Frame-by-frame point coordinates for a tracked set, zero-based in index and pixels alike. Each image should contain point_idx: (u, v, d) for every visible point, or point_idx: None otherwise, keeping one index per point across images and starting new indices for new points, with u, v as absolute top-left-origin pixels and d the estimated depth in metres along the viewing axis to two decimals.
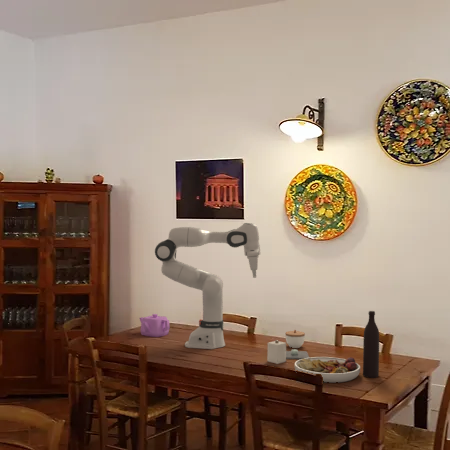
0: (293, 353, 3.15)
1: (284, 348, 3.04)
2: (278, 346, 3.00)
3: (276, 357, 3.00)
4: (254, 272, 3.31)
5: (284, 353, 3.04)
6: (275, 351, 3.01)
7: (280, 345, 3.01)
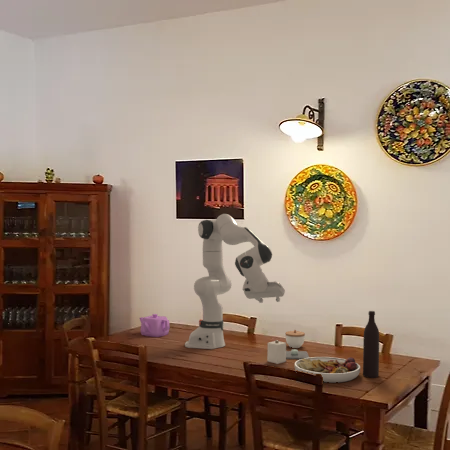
0: (293, 353, 3.15)
1: (284, 348, 3.04)
2: (278, 346, 3.00)
3: (276, 357, 3.00)
4: None
5: (284, 353, 3.04)
6: (275, 351, 3.01)
7: (280, 345, 3.01)
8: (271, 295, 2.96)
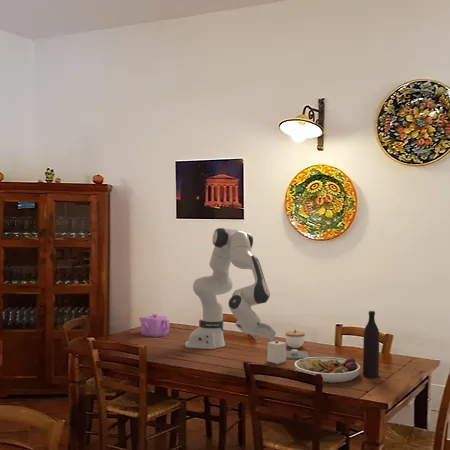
0: (293, 353, 3.15)
1: (284, 348, 3.04)
2: (278, 346, 3.00)
3: (276, 357, 3.00)
4: None
5: (284, 353, 3.04)
6: (275, 351, 3.01)
7: (280, 345, 3.01)
8: (262, 335, 2.91)
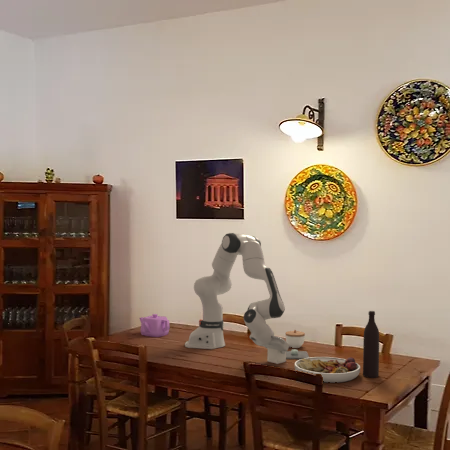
0: (293, 353, 3.15)
1: None
2: None
3: (276, 357, 3.00)
4: None
5: None
6: (275, 351, 3.01)
7: None
8: (276, 348, 2.98)
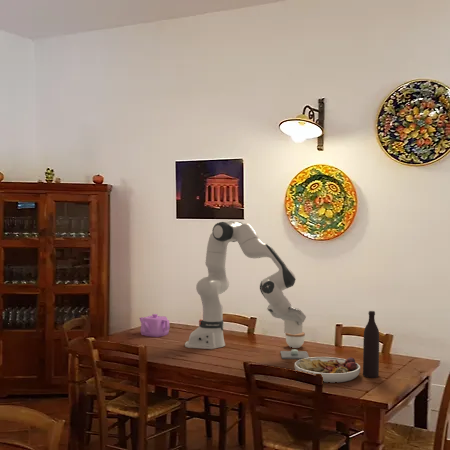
0: (293, 353, 3.15)
1: None
2: None
3: (293, 328, 3.11)
4: None
5: None
6: (292, 322, 3.11)
7: None
8: (292, 319, 3.08)
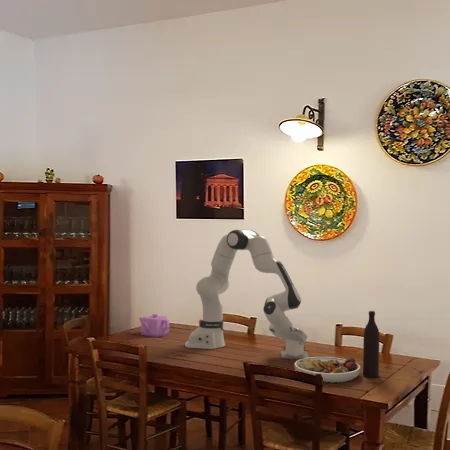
0: None
1: None
2: None
3: (294, 350, 3.12)
4: None
5: (302, 346, 3.15)
6: (293, 344, 3.13)
7: None
8: (294, 339, 3.10)
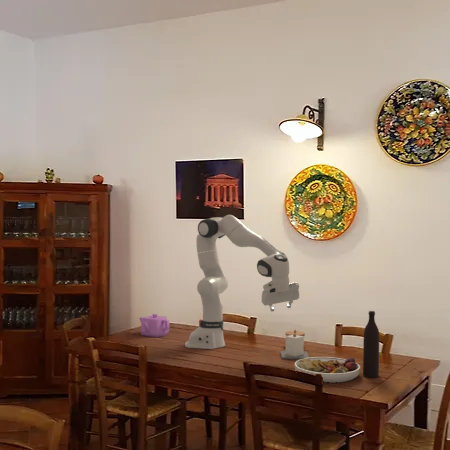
0: None
1: (302, 341, 3.15)
2: (296, 339, 3.12)
3: (294, 350, 3.12)
4: (269, 306, 3.13)
5: (302, 346, 3.15)
6: (293, 344, 3.13)
7: (298, 338, 3.13)
8: (288, 298, 3.14)
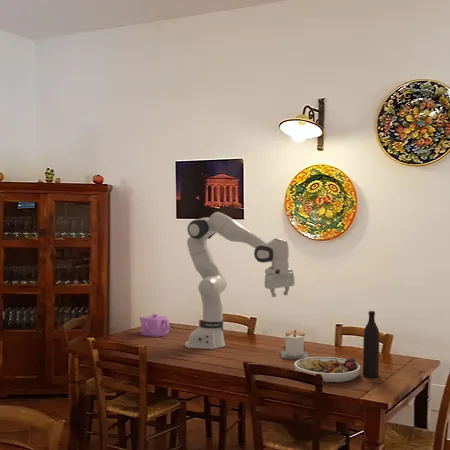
0: None
1: (302, 341, 3.15)
2: (296, 339, 3.12)
3: (294, 350, 3.12)
4: (272, 291, 3.12)
5: (302, 346, 3.15)
6: (293, 344, 3.13)
7: (298, 338, 3.13)
8: (287, 283, 3.18)
